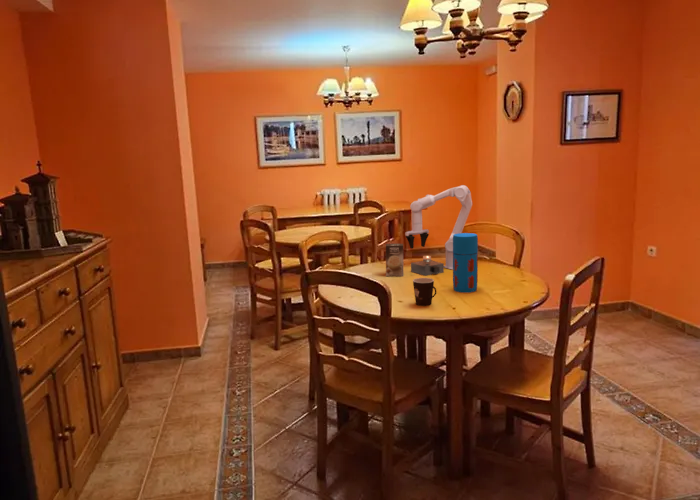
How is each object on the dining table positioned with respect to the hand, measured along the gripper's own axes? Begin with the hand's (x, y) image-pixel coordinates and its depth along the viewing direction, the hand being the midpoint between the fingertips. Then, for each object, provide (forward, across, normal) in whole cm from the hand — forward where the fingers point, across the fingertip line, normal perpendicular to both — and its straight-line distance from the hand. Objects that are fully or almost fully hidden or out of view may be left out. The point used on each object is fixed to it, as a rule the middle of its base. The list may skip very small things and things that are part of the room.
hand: (417, 247), depth 283 cm
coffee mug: (+11, +42, +61) cm, 75 cm away
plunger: (+10, +5, +15) cm, 19 cm away
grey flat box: (+10, +5, +15) cm, 19 cm away
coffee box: (+11, +22, +10) cm, 26 cm away
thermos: (+11, +13, +53) cm, 56 cm away
